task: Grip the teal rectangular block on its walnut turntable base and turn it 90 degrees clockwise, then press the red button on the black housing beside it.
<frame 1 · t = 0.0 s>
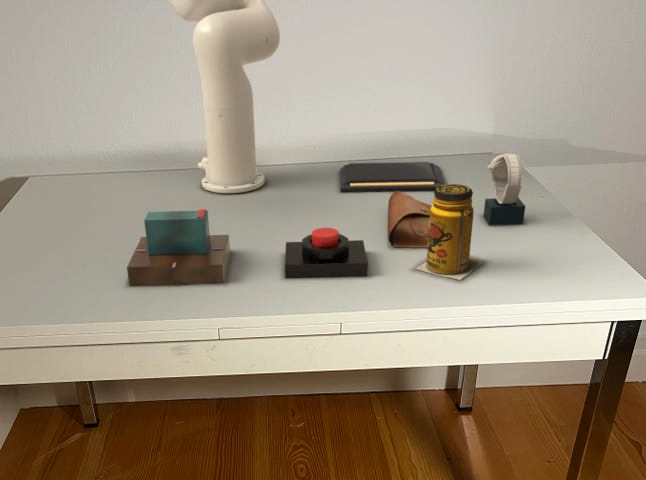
holder base: (181, 268, 116), on the table
watch: (502, 221, 128), on the table
condiment: (450, 267, 112), on the table
button box: (325, 265, 115), on the table
wallet: (390, 180, 150), on the table
button: (325, 237, 112), point 4 cm above the table, slide at 0.1 cm
sunglasses case: (412, 229, 126), on the table
teal rectangular block: (177, 231, 113), point 6 cm above the table, hinge at 0.0°
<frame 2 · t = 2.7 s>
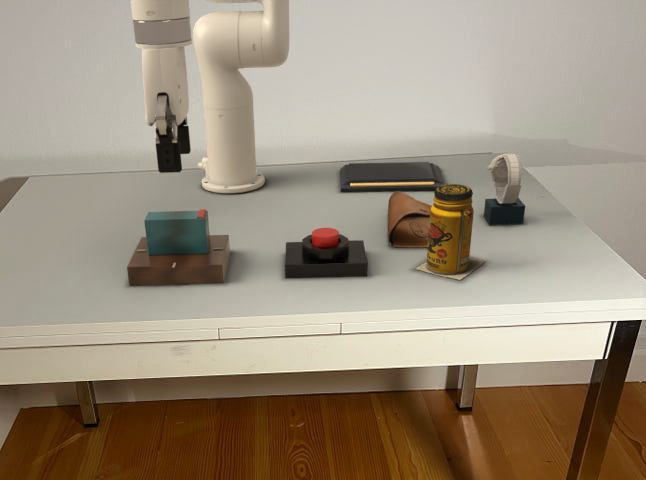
hand: (175, 162, 108), 16 cm above the table, tool pointing down, fingers open, 9 cm apart
nothing on the table moved.
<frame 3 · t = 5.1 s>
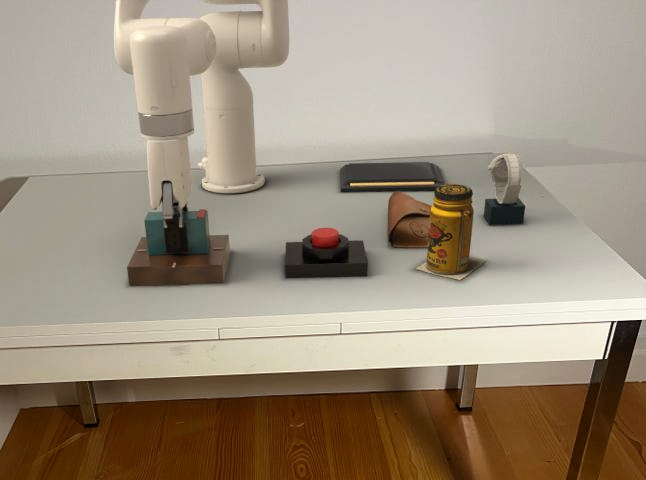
hand: (179, 245, 114), 4 cm above the table, tool pointing down, fingers closed on teal rectangular block, 3 cm apart
teal rectangular block: (177, 231, 113), point 6 cm above the table, hinge at 0.0°, touching gripper
everything else where it was.
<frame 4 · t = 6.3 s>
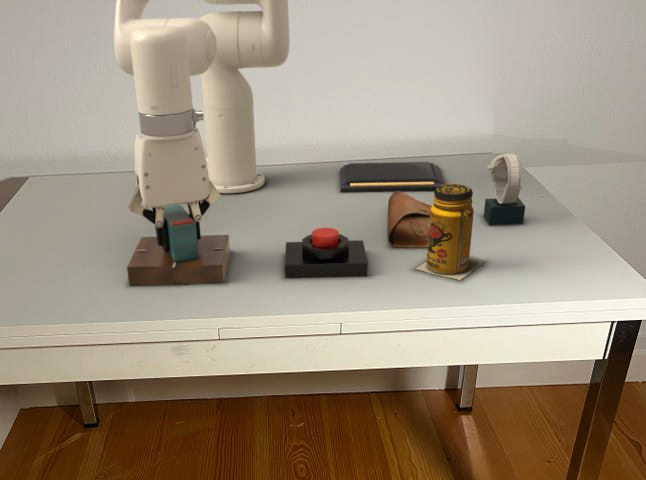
hand: (179, 245, 114), 4 cm above the table, tool pointing down, fingers closed on teal rectangular block, 3 cm apart
teal rectangular block: (177, 231, 113), point 6 cm above the table, hinge at -68.6°, touching gripper
everything else where it was.
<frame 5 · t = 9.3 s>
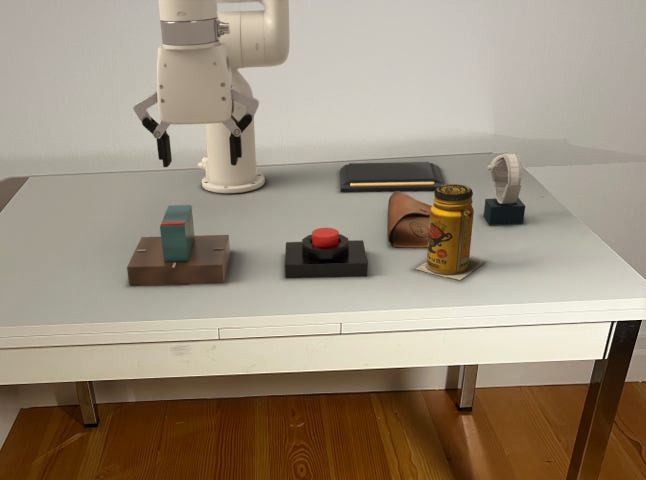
hand: (200, 163, 108), 16 cm above the table, tool pointing down, fingers open, 9 cm apart
teal rectangular block: (177, 231, 113), point 6 cm above the table, hinge at -89.4°
everything else where it was.
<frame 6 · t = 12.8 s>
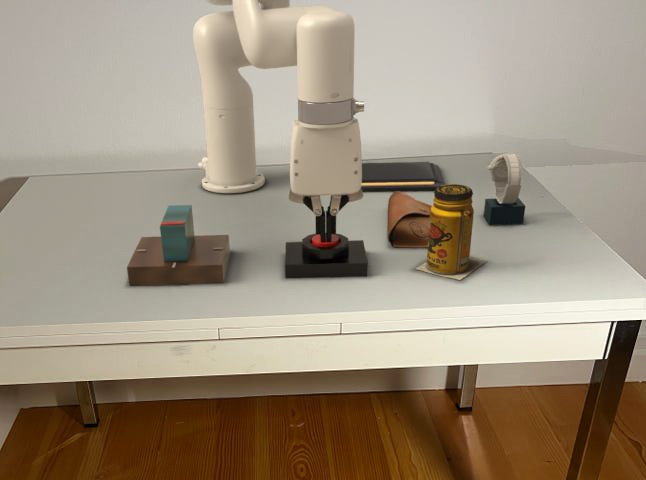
hand: (325, 238, 112), 4 cm above the table, tool pointing down, fingers closed
button: (325, 243, 113), point 4 cm above the table, slide at -0.8 cm, touching gripper
everything else where it was.
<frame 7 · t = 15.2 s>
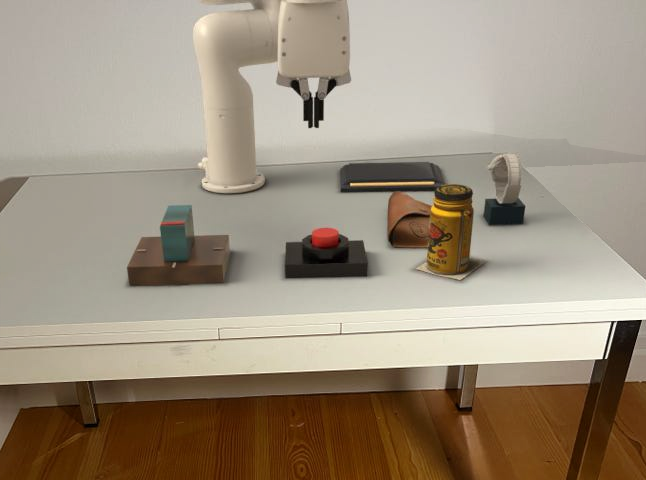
hand: (313, 125, 112), 19 cm above the table, tool pointing down, fingers closed
button: (325, 237, 112), point 4 cm above the table, slide at 0.1 cm
everything else where it was.
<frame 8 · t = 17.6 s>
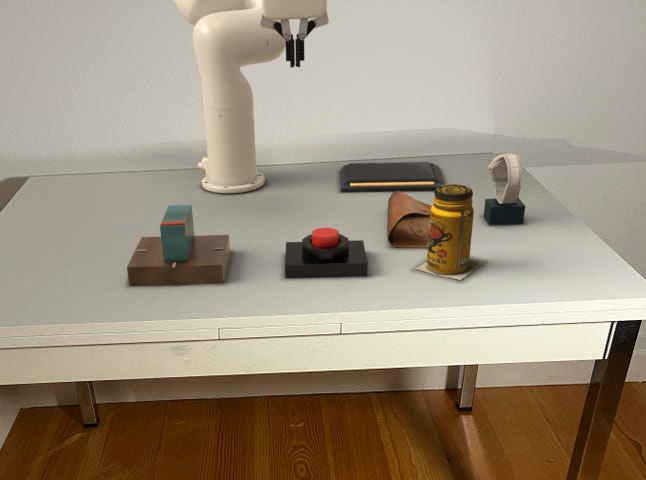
hand: (295, 65, 122), 25 cm above the table, tool pointing down, fingers closed
nothing on the table moved.
at the end: teal rectangular block at -89° (first picture: +0°); button pushed in 1.0 cm at the most during the clip, back to where it started at the end; button slide at 0.1 cm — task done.
